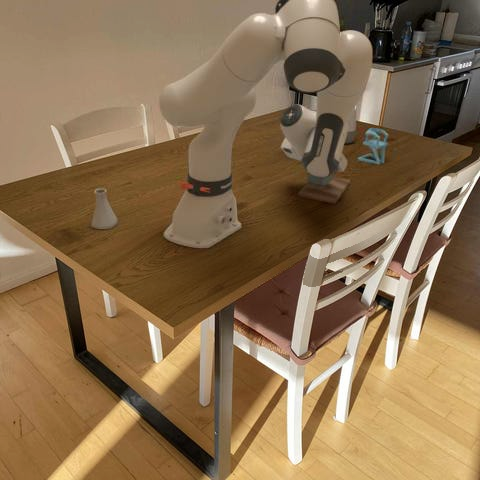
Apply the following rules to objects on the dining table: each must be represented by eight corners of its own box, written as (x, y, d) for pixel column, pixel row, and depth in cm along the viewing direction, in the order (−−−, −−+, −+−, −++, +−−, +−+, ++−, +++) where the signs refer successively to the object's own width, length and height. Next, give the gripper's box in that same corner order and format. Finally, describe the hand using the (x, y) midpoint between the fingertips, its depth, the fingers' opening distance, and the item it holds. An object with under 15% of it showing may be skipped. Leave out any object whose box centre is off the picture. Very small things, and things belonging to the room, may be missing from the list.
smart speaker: (337, 137, 207) (341, 103, 200) (357, 141, 202) (362, 107, 196) (327, 142, 200) (331, 108, 194) (348, 147, 196) (352, 112, 189)
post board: (335, 203, 148) (338, 178, 144) (297, 196, 152) (299, 171, 148) (349, 183, 162) (353, 160, 158) (315, 177, 167) (317, 154, 163)
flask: (111, 231, 130) (107, 197, 125) (86, 228, 131) (81, 194, 126) (122, 219, 136) (118, 186, 131) (98, 217, 137) (93, 184, 132)
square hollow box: (322, 185, 153) (325, 161, 149) (306, 180, 156) (309, 157, 152) (332, 180, 157) (335, 156, 153) (316, 175, 160) (318, 152, 157)
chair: (375, 166, 177) (381, 134, 171) (357, 160, 183) (362, 128, 177) (387, 161, 182) (393, 130, 176) (369, 155, 187) (374, 125, 181)
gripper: (344, 143, 138) (355, 167, 150) (285, 129, 149) (299, 151, 161) (335, 162, 138) (346, 184, 149) (276, 146, 149) (291, 168, 160)
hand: (321, 167), depth 155 cm, fingers closed on square hollow box, 6 cm apart
